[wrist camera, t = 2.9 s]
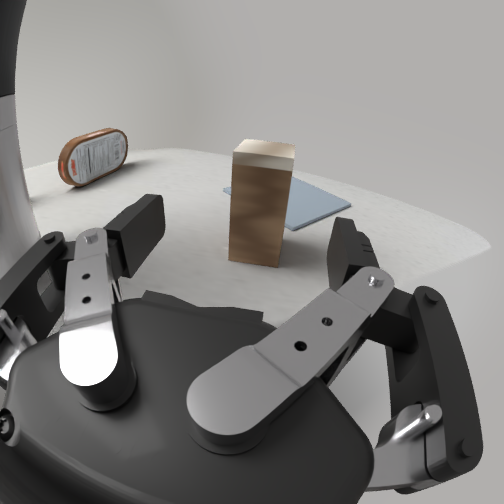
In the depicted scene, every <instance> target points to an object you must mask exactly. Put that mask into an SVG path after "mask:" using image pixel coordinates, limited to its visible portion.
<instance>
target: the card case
mask: <svg viewBox="0 0 504 504" xmlns="http://www.w3.org/2000/svg"><path fill="white" fill-rule="evenodd" d="M294 154H295V145H292V144H284V143H277V142H270V141H261V140H251V139H245V140H244V141H243V142H242V143H241V144H240V145H239V146H238V147H237V148H236V149H235V150H234V151H233V162H232V182H231V204H230V229H229V259H228V260H231V261H237V262H243V263H250V264H256V265H262V266H269V267H275V268H278V263H279V257H280V251H281V244H282V238H283V232H284V226H285V219H286V213H287V206H288V199H289V192H290V186H291V179H292V171H293V163H294Z"/></svg>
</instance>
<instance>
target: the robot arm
mask: <svg viewBox="0 0 504 504" xmlns="http://www.w3.org/2000/svg"><path fill="white" fill-rule="evenodd" d="M26 1H27V0H0V386H1V387H2V388H3V389H5V390H6V394H5V399H4V402H3V406H2V409H1V411H0V504H357V503H358V501H359V499H360V497H361V496H362V495H363V493H364V492H367V491H381V490H390V489H394V490H395V491H397V492H398V493H400V494H411V493H414V492H417V491H421V490H424V489H427V488H429V487H433V486H435V485H438V484H441V483H443V482H446V481H448V480H451V479H453V478H456V477H458V476H460V475H463V474H465V473H467V472H469V471H471V470H473V469H474V468H475V467H476V466H477V464H478V463H479V461H480V459H481V457H482V453H483V440H482V432H481V426H480V419H479V414H478V408H477V403H476V399H475V393H474V389H473V385H472V381H471V377H470V373H469V369H468V366H467V362H466V359H465V355H464V352H463V349H462V346H461V342H460V340H459V337H458V334H457V331H456V328H455V325H454V322H453V320H452V317H451V314H450V312H449V309H448V307H447V304H446V302H445V300H444V298H443V296H442V295H441V294H440V293H438V292H437V291H436V290H434V289H433V288H430V287H427V286H419V287H417V288H416V289H415V291H414V293H413V295H412V294H409V293H407V292H404V291H401V290H399V289H397V288H395V287H394V280H393V278H392V277H391V276H390V275H389V274H388V273H387V272H385V271H384V270H382V269H380V267H379V264H378V262H377V259H376V256H375V253H374V251H373V248H372V245H371V243H370V240H369V238H368V237H367V236H366V235H365V234H364V233H363V232H359V231H357V230H356V227H355V224H354V221H353V220H352V219H346V218H340V217H336V219H335V222H334V226H333V230H332V234H331V238H330V242H329V246H328V251H327V266H328V276H329V286H330V288H328V289H326V290H325V291H324V292H323V293H321V294H320V295H319V296H318V297H317V298H315V299H314V300H313V301H312V302H310V303H309V304H308V305H307V306H306V307H304V308H303V309H302V310H300V311H299V312H298V313H297V314H295V315H294V316H293V317H292V318H290V319H289V320H288V321H286V322H285V323H284V324H283V325H281V326H280V327H279V328H276V327H274V326H272V325H270V324H268V323H266V322H263V321H262V320H263V312H260V311H254V310H248V309H241V308H235V307H197V306H195V305H192V304H190V303H188V302H185V301H183V300H181V299H178V298H176V297H174V296H171V295H166V294H162V293H157V292H152V291H148V290H146V291H145V293H144V295H143V296H142V298H135V299H128V300H124V301H123V297H122V292H121V286H120V282H119V277H120V276H122V277H127V278H132V276H133V275H134V274H135V272H136V271H137V270H138V268H139V267H140V266H141V264H142V263H143V262H144V260H145V259H146V258H147V256H148V255H149V254H150V252H151V251H152V250H153V249H154V247H155V246H156V245H157V243H158V242H159V241H160V240H161V238H162V237H163V235H164V233H165V215H164V204H163V198H162V196H161V195H154V194H145V195H144V196H143V197H142V198H140V199H139V200H138V201H137V202H136V203H134V204H132V205H130V206H128V207H127V208H125V209H124V210H123V211H122V212H121V213H120V214H118V215H117V216H116V218H114V219H113V220H112V221H110V222H109V223H108V224H107V225H106V226H105V227H104V228H103V229H102V228H93V229H89V230H86V231H84V232H83V233H81V234H80V235H79V236H78V237H77V239H76V241H71V242H65V239H64V235H63V233H62V232H58V231H56V232H51V233H48V234H46V235H45V236H43V237H42V238H41V235H40V231H39V230H38V226H37V223H36V220H35V216H34V213H33V209H32V205H31V202H30V198H29V194H28V189H27V185H26V180H25V176H24V171H23V166H22V160H21V154H20V147H19V140H18V131H17V124H16V123H17V121H16V109H15V95H14V94H15V69H16V55H17V44H18V37H19V32H20V26H21V22H22V17H23V13H24V9H25V5H26ZM46 270H47V272H48V274H49V276H50V279H51V281H52V283H51V284H50V285H49V286H48V288H47V289H46V290H45V291H44V293H43V294H42V295H41V296H40V295H39V293H38V291H37V281H38V279H39V278H40V277H41V275H42V274H43V273H44V272H45V271H46ZM63 312H64V325H63V326H61V327H60V331H59V332H57V333H55V334H53V335H51V336H49V337H47V336H48V334H49V333H50V331H51V330H52V328H53V327H54V325H55V324H56V322H57V321H58V319H59V318H60V316H61V315H62V313H63ZM46 337H47V338H46ZM367 339H369V340H372V341H375V342H378V343H380V344H383V345H385V349H386V357H387V366H388V376H389V387H390V400H391V402H390V403H391V420H390V421H389V422H387V423H386V424H385V425H384V426H383V427H382V429H381V431H380V434H379V439H378V443H377V445H376V447H375V449H373V448H372V445H371V443H370V441H369V439H368V438H367V436H366V434H365V433H364V432H363V431H362V429H361V428H360V427H359V426H358V425H357V423H356V422H355V421H354V419H353V418H352V417H351V416H350V415H349V413H348V412H347V411H346V409H345V408H344V407H343V406H342V404H341V403H340V402H339V401H338V399H337V398H336V397H335V395H334V394H333V393H332V392H331V390H330V389H329V388H328V387H329V386H330V385H331V383H332V382H333V381H334V380H335V378H336V377H337V376H338V374H339V373H340V372H341V370H342V369H343V368H344V367H345V365H346V364H347V363H348V362H349V361H350V360H351V358H352V357H353V356H354V355H355V353H356V352H357V351H358V350H359V349H360V347H361V346H362V344H363V343H364V342H365V341H366V340H367Z"/></svg>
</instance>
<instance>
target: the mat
mask: <svg viewBox="0 0 504 504" xmlns="http://www.w3.org/2000/svg"><path fill="white" fill-rule="evenodd" d="M223 191H224V192H226V193H228V194H229V195H231V187H227V188H223ZM349 206H351V203H349V202H347V201H345V200H343V199H341V198H339V197H337V196H335V195H332V194H330V193H328V192H326V191H324V190H322V189H319V188H317V187H315V186H313V185H310V184H308V183H306V182H304V181H301V180H299V179H297V178H294V177H292V179H291V186H290V192H289V199H288V206H287V213H286V219H285V227H287V228H289V229H290V230H292V231H293V230H296V229H298V228H300V227H303V226H305V225H307V224H310V223H312V222H314V221H317V220H319V219H321V218H324V217H326V216H328V215H331V214H333V213H335V212H338V211H340V210H342V209H345V208H347V207H349Z"/></svg>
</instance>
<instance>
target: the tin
mask: <svg viewBox="0 0 504 504" xmlns="http://www.w3.org/2000/svg"><path fill="white" fill-rule="evenodd" d="M127 143H128V142H127V137H126V135H125V134H124V133H123V132H122V131H120V130H117V129H111V128H106V129H102V130H99V131H95V132H92V133H89V134H86V135H82V136H79V137H76V138H73V139H72V140H70V141H69V142H68V143H67V144H66V145H65V146H64V148H63V149H62V151H61V153H60V156H59V160H58V171H59V175H60V177H61V179H62V180H63V181H64V182H65V183H67V184H69V185H74V186H85V185H87V184H89V183H91V182H93V181H95V180H97V179H99V178H101V177H103V176H106V175H108V174H110V173H112V172H115V171H116V170H118V169H119V168H120V167H121V166H122V165H123V163H124V161H125V159H126V157H127V151H128V144H127Z"/></svg>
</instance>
